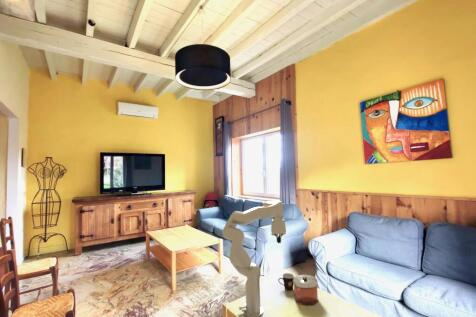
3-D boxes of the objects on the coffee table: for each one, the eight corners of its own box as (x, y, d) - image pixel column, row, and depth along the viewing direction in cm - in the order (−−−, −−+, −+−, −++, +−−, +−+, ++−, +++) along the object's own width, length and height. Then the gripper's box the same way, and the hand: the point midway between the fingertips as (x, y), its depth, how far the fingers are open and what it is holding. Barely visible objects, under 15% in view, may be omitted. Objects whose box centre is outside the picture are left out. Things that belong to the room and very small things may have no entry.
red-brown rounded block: (300, 306, 161) (299, 290, 161) (291, 294, 177) (290, 279, 177) (322, 303, 163) (321, 287, 164) (311, 291, 179) (310, 277, 180)
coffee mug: (295, 286, 188) (294, 273, 188) (293, 292, 180) (293, 278, 180) (280, 284, 192) (279, 272, 192) (278, 290, 184) (277, 277, 184)
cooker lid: (298, 290, 161) (298, 286, 161) (289, 278, 178) (289, 275, 178) (322, 286, 163) (321, 281, 164) (310, 275, 180) (310, 271, 180)
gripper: (269, 219, 172) (270, 245, 171) (289, 218, 174) (290, 243, 173) (266, 217, 179) (267, 242, 179) (285, 216, 181) (286, 240, 181)
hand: (278, 242), depth 176 cm, fingers closed
